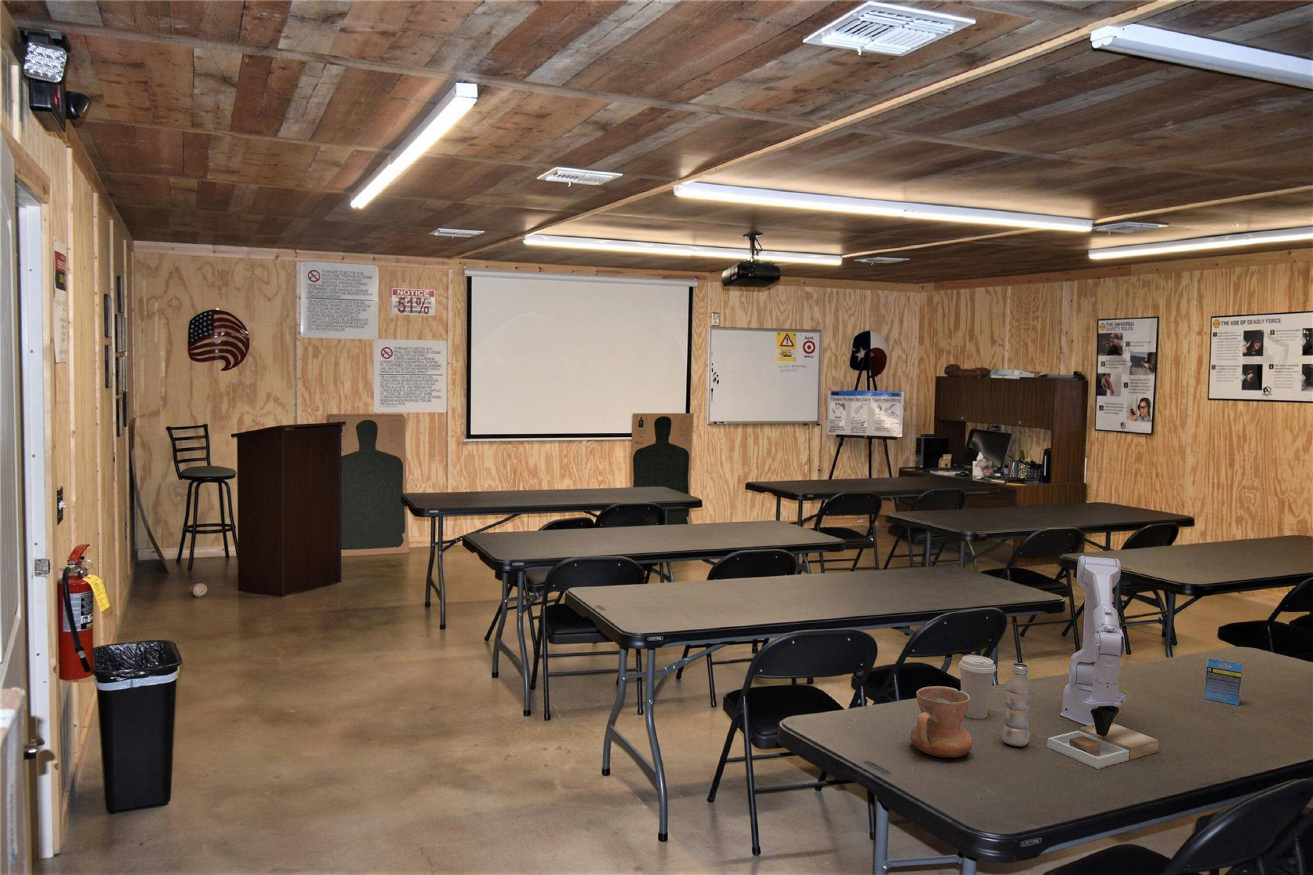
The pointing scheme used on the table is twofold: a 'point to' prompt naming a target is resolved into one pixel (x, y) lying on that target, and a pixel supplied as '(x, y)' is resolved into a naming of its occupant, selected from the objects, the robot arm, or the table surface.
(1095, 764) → the box
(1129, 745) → the tan wooden flat block
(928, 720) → the ceramic jug
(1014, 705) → the plastic bottle
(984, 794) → the table surface
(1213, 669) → the label tape box
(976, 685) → the coffee cup
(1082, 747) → the brown block
